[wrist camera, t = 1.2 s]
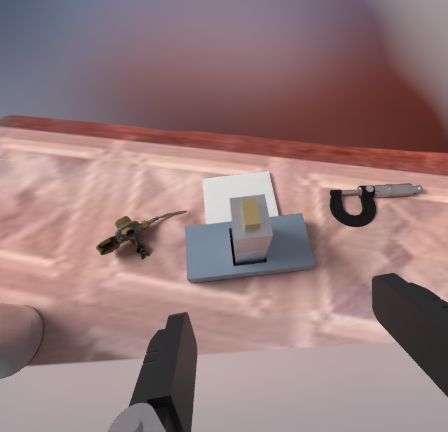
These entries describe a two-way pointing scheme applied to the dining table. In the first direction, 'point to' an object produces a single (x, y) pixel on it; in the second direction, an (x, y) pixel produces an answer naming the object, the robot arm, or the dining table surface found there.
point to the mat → (235, 194)
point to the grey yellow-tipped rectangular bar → (250, 229)
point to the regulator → (128, 234)
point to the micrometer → (367, 201)
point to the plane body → (223, 264)
